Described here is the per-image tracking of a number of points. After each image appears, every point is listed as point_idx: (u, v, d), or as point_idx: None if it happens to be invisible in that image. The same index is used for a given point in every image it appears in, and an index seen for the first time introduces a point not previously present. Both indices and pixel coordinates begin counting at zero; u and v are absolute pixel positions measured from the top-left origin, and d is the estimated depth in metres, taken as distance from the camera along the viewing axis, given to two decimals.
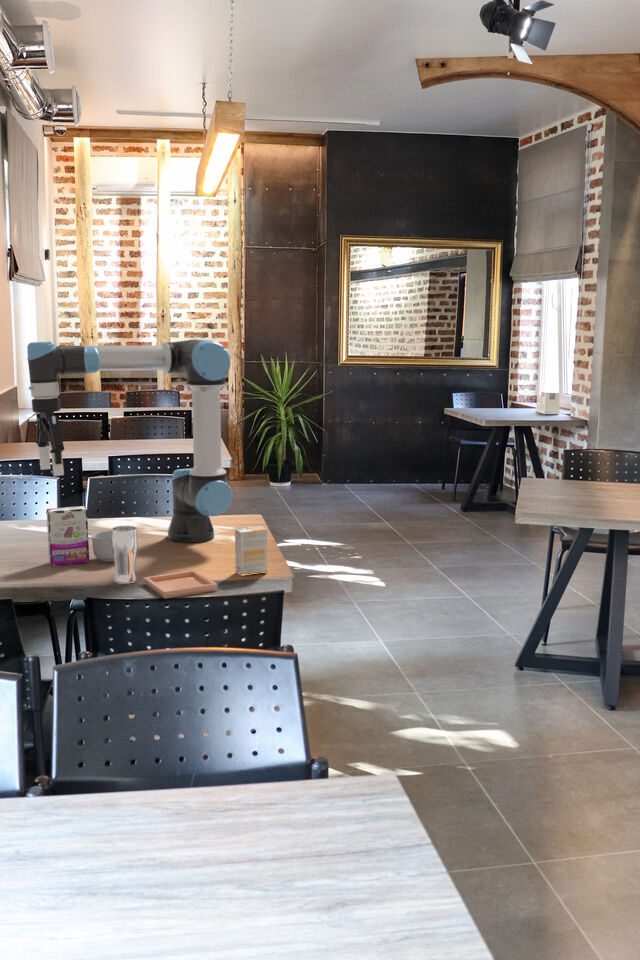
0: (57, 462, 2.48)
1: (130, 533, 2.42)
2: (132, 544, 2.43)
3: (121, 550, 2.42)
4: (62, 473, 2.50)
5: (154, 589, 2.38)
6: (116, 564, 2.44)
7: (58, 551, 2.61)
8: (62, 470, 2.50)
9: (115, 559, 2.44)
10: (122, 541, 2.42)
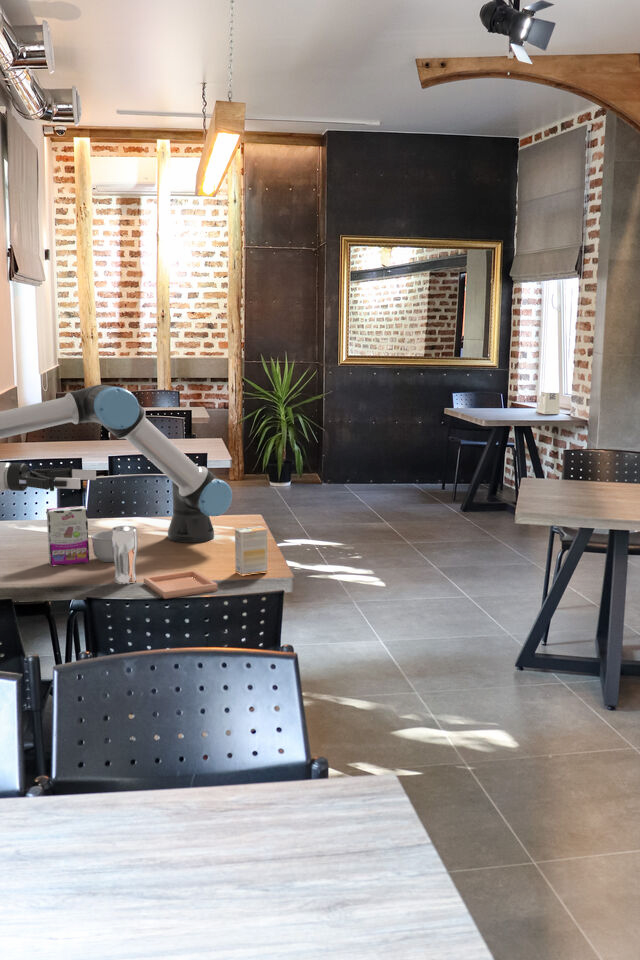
0: (63, 485, 2.35)
1: (130, 533, 2.42)
2: (132, 544, 2.43)
3: (121, 550, 2.42)
4: (77, 480, 2.36)
5: (154, 589, 2.38)
6: (116, 564, 2.44)
7: (58, 551, 2.61)
8: (74, 479, 2.36)
9: (115, 559, 2.44)
10: (122, 541, 2.42)
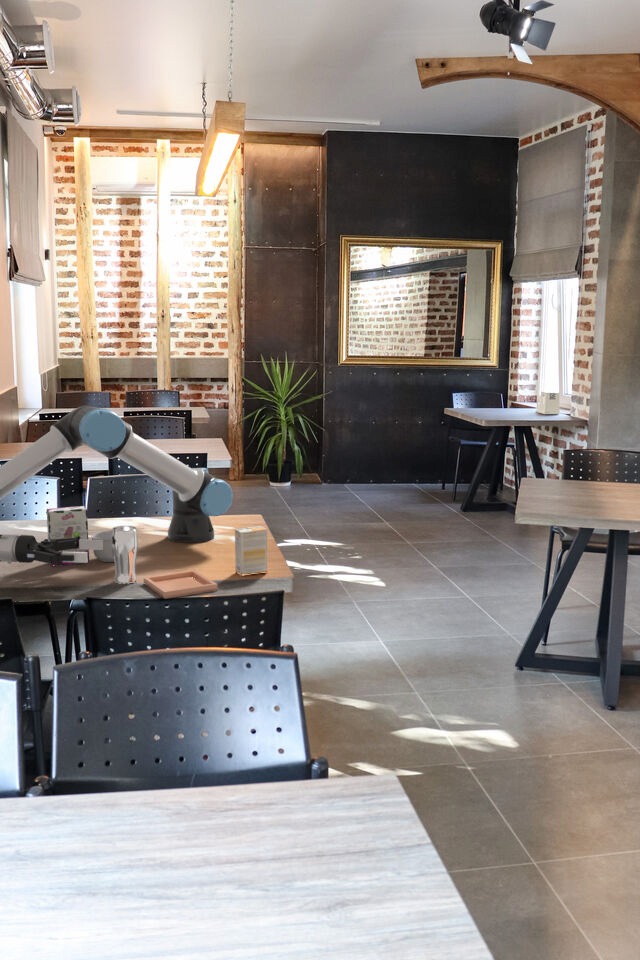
0: (70, 560, 2.38)
1: (130, 533, 2.42)
2: (132, 544, 2.43)
3: (121, 550, 2.42)
4: (84, 554, 2.39)
5: (154, 589, 2.38)
6: (116, 564, 2.44)
7: (58, 551, 2.61)
8: (81, 553, 2.39)
9: (115, 559, 2.44)
10: (122, 541, 2.42)
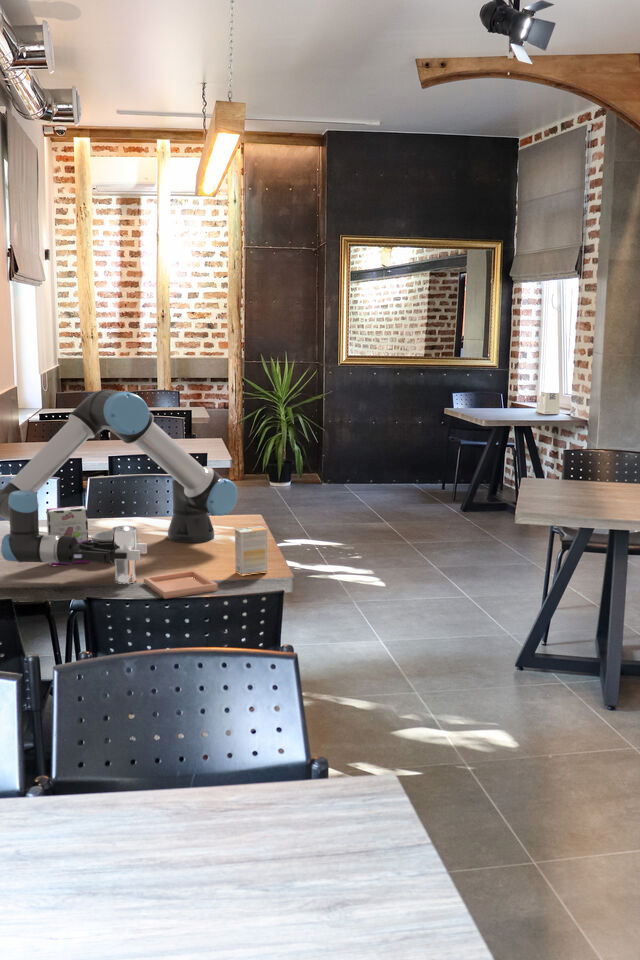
0: (123, 557, 2.41)
1: (130, 533, 2.42)
2: (132, 544, 2.43)
3: None
4: (137, 552, 2.41)
5: (154, 589, 2.38)
6: (116, 563, 2.44)
7: None
8: (134, 551, 2.41)
9: None
10: (122, 541, 2.42)
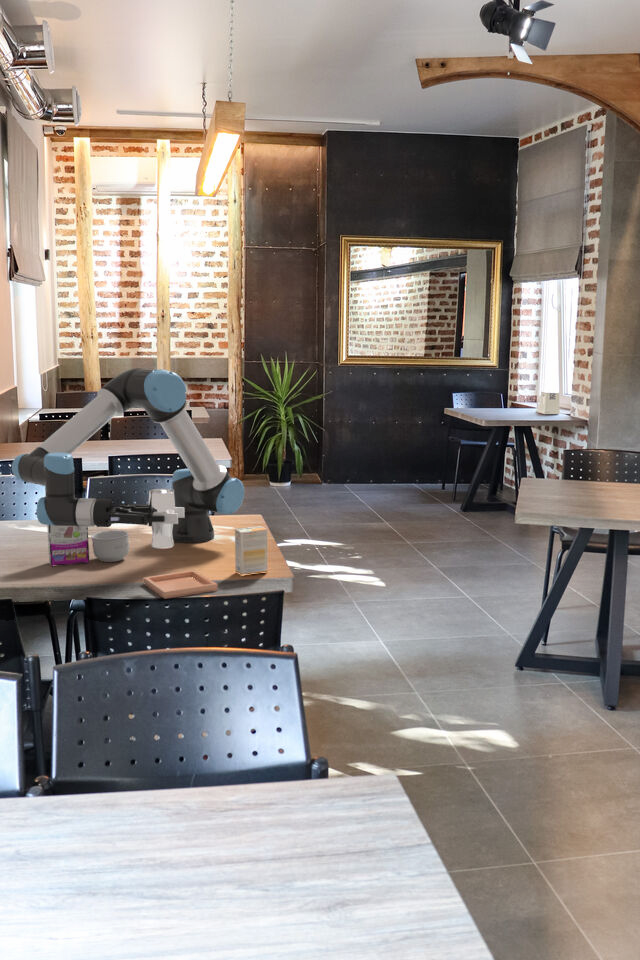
0: (161, 520, 2.35)
1: (168, 496, 2.36)
2: (170, 507, 2.37)
3: None
4: (175, 515, 2.35)
5: (154, 589, 2.38)
6: (153, 527, 2.38)
7: (58, 551, 2.61)
8: (172, 514, 2.35)
9: (152, 522, 2.38)
10: (160, 503, 2.36)
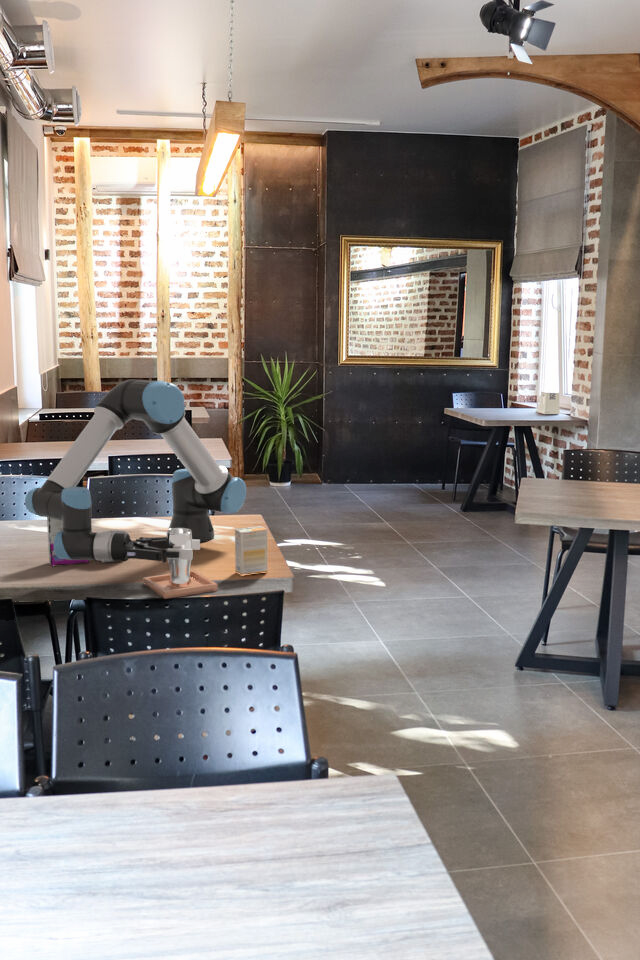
0: (176, 556, 2.35)
1: (185, 536, 2.38)
2: (187, 547, 2.38)
3: None
4: (190, 551, 2.35)
5: (154, 589, 2.38)
6: (171, 567, 2.40)
7: None
8: (186, 550, 2.35)
9: (170, 562, 2.39)
10: (178, 544, 2.37)
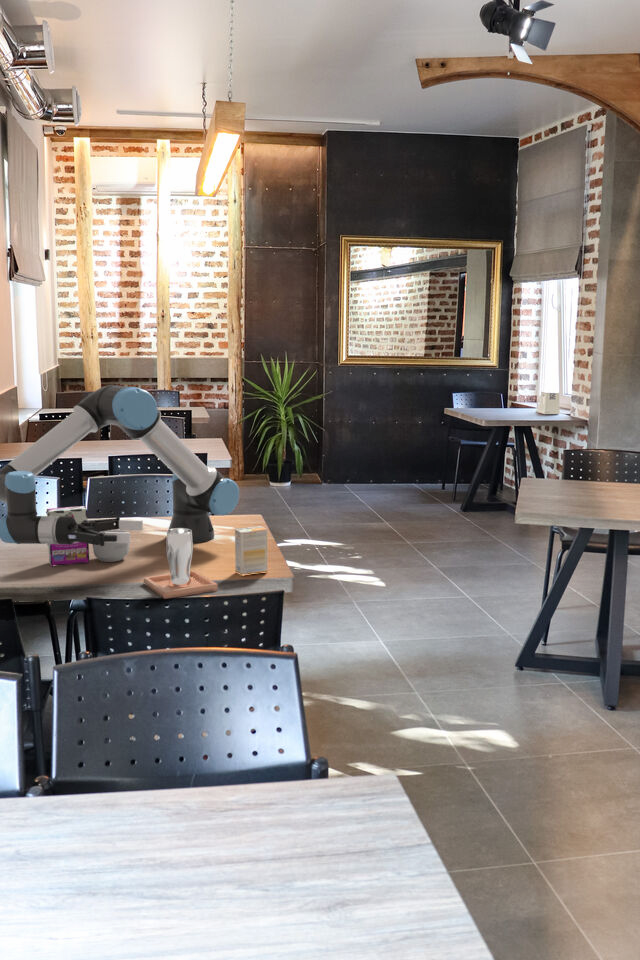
0: (113, 540, 2.34)
1: (186, 535, 2.38)
2: (188, 547, 2.39)
3: (177, 553, 2.38)
4: (127, 534, 2.35)
5: (154, 589, 2.38)
6: (171, 567, 2.40)
7: (58, 551, 2.61)
8: (124, 534, 2.35)
9: (170, 562, 2.39)
10: (178, 543, 2.37)
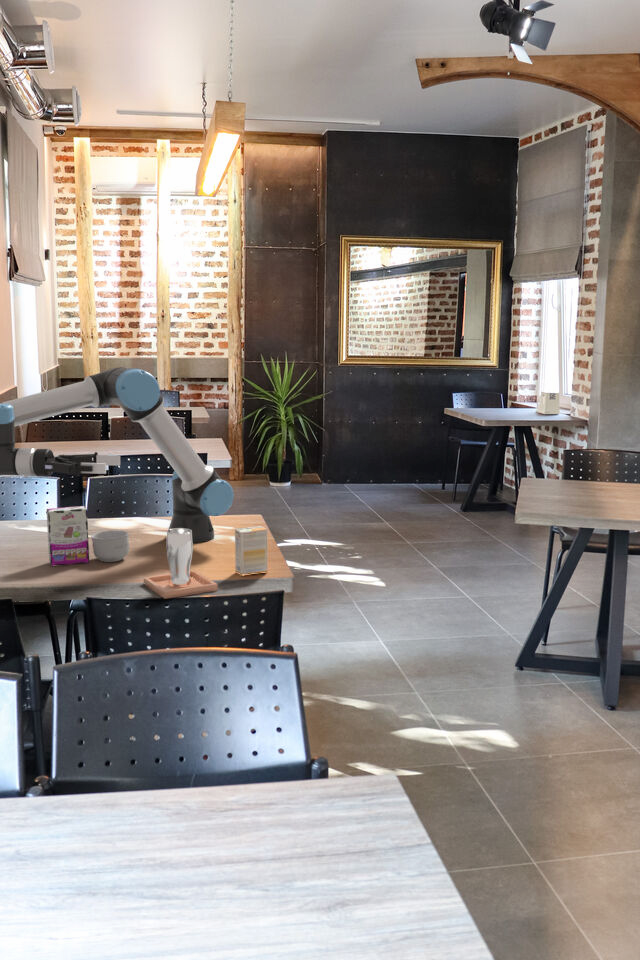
0: (89, 470, 2.36)
1: (185, 536, 2.38)
2: (187, 547, 2.39)
3: (176, 553, 2.38)
4: (103, 465, 2.37)
5: (154, 589, 2.38)
6: (171, 567, 2.40)
7: (58, 551, 2.61)
8: (100, 464, 2.37)
9: (170, 562, 2.39)
10: (178, 543, 2.37)
